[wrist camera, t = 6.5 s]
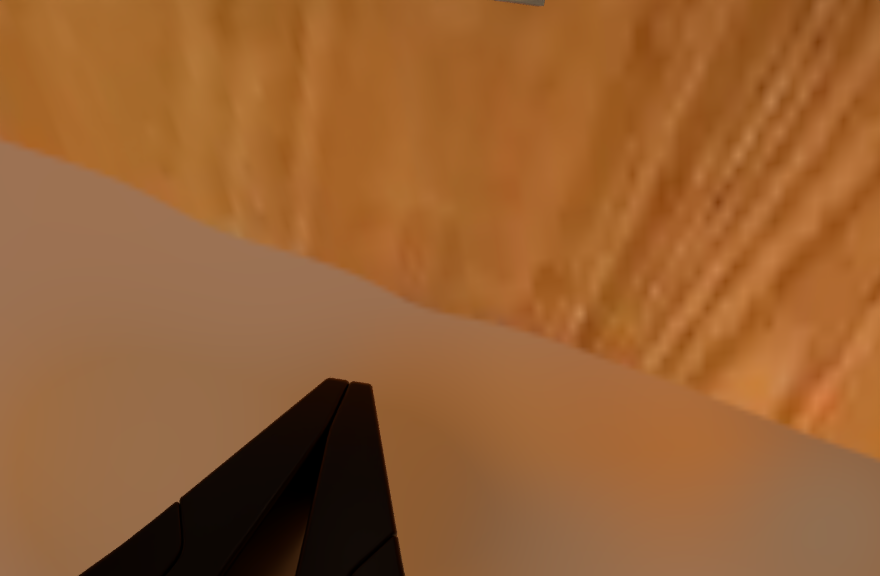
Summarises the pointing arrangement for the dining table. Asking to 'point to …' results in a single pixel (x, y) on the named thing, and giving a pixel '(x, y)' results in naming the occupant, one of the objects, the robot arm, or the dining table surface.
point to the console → (526, 2)
